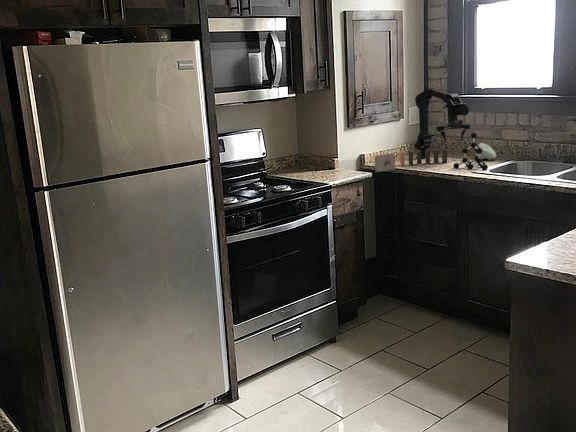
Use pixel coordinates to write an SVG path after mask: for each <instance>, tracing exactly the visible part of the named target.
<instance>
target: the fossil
mask: <svg viewBox="0 0 576 432" xmlns="http://www.w3.org/2000/svg"><path fill="white" fill-rule="evenodd" d="M395 158H396V156H395V153H394V152H390V153H383V154H375V157H374V172H375V173H380V172H388V171H395V170H396V159H395Z"/></svg>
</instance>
